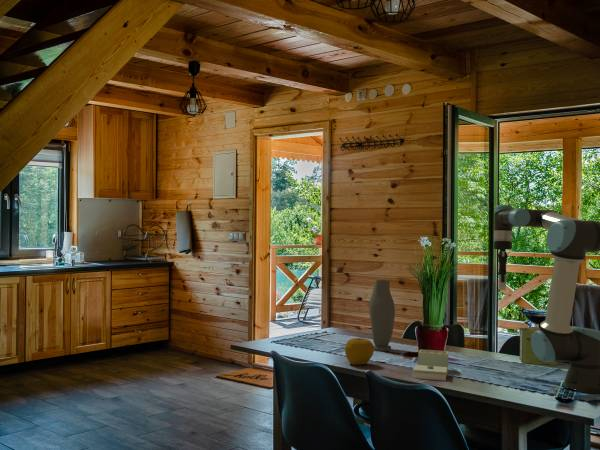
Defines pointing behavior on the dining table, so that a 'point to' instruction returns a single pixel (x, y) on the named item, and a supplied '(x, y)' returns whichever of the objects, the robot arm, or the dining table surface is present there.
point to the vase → (382, 315)
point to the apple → (359, 351)
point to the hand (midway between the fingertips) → (502, 289)
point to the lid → (430, 372)
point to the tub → (433, 358)
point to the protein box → (529, 347)
